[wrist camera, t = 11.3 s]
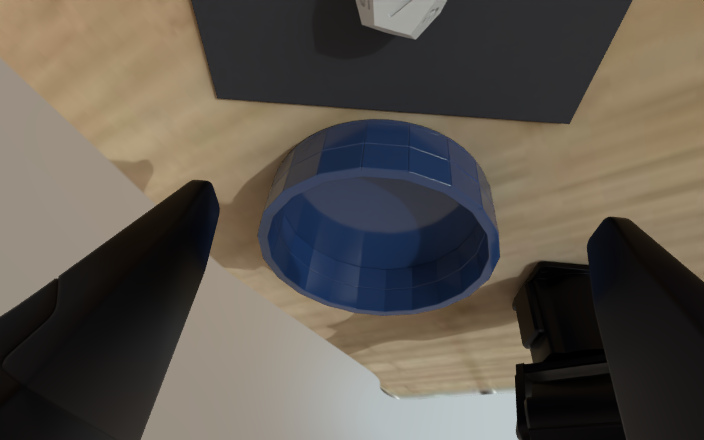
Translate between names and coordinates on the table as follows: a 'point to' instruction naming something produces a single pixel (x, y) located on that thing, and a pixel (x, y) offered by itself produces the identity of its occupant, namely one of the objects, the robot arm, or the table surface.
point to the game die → (399, 15)
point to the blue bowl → (380, 219)
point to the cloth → (412, 56)
